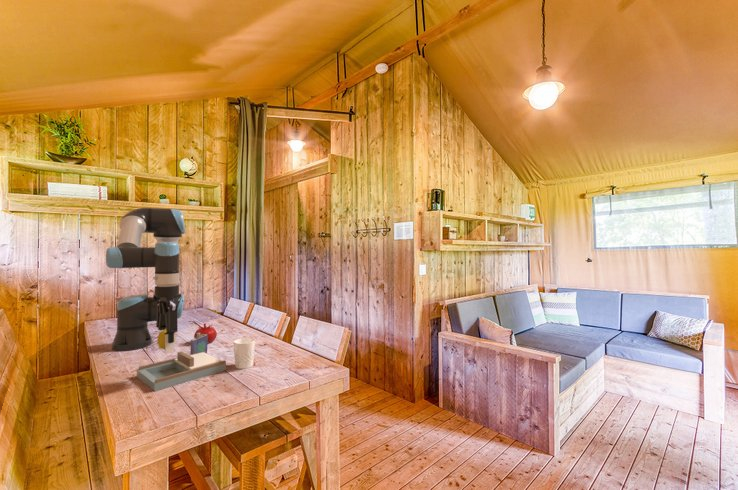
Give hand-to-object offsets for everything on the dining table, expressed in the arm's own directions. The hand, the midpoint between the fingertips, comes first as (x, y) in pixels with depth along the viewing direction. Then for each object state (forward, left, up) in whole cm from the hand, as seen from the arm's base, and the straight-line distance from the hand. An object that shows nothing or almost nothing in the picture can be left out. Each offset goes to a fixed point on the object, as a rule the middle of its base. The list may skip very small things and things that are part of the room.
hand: (166, 349), depth 119 cm
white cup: (+10, +25, -10) cm, 28 cm away
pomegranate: (-33, +29, -11) cm, 45 cm away
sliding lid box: (0, +6, -10) cm, 12 cm away
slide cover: (0, +11, -7) cm, 13 cm away
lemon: (0, 0, -1) cm, 1 cm away
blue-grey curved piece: (-12, +17, -10) cm, 23 cm away
